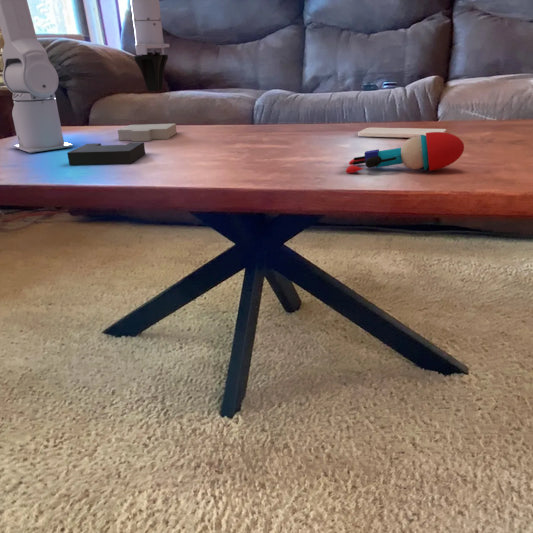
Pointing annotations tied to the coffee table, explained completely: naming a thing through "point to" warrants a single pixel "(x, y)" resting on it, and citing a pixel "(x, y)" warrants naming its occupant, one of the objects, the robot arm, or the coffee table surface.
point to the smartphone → (397, 132)
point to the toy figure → (415, 153)
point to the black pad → (106, 154)
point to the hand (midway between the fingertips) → (155, 90)
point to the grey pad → (147, 132)
